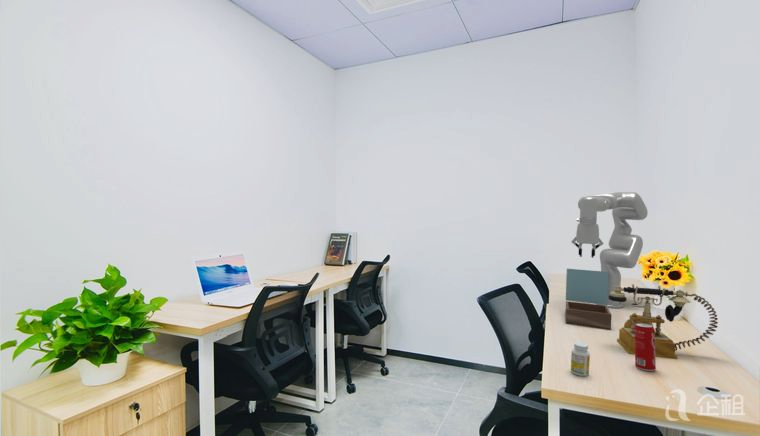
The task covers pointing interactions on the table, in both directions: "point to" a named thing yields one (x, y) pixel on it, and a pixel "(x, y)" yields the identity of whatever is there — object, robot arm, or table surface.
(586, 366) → the supplement bottle
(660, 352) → the rotary telephone
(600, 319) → the storage box
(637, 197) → the robot arm
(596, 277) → the lid
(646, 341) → the beverage can
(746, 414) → the table surface
